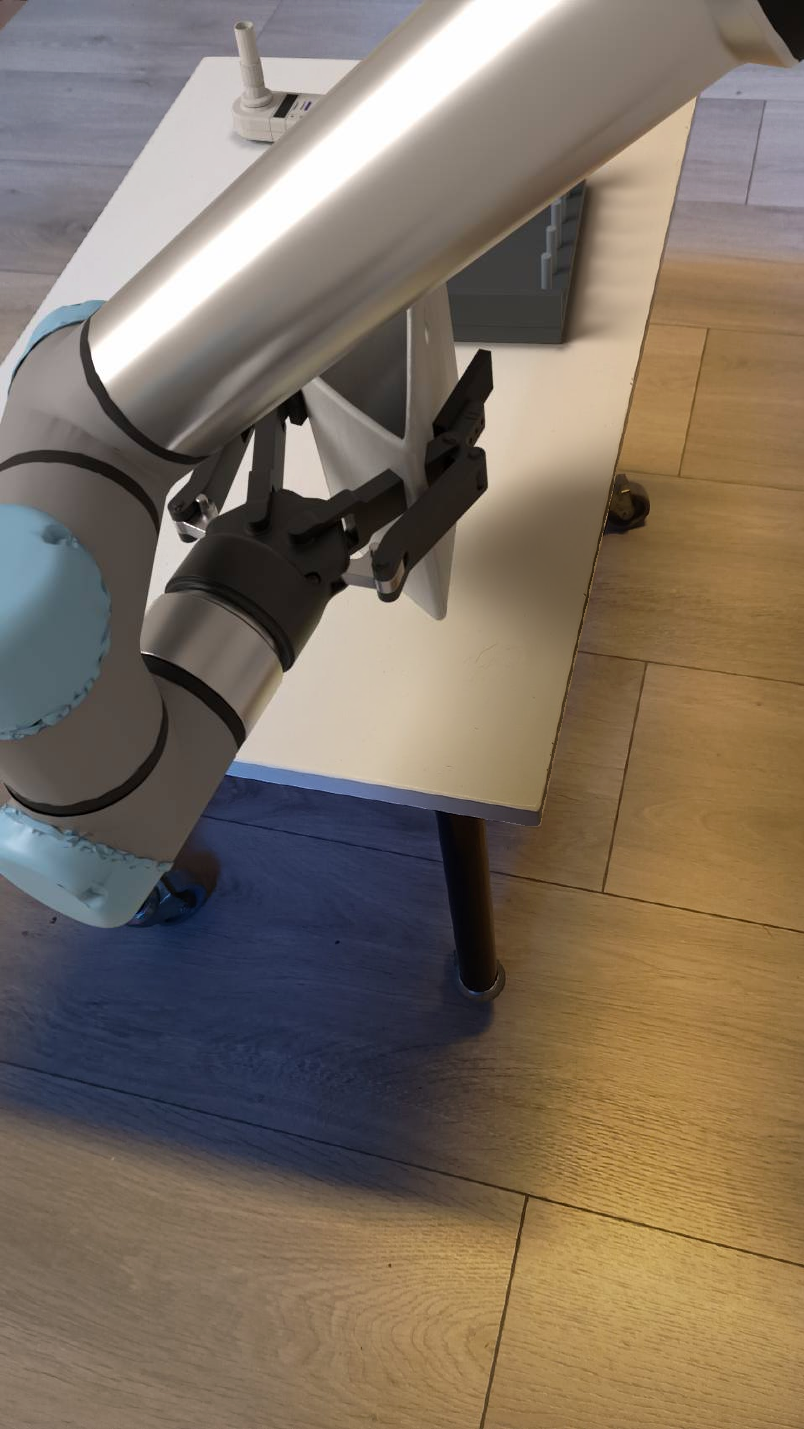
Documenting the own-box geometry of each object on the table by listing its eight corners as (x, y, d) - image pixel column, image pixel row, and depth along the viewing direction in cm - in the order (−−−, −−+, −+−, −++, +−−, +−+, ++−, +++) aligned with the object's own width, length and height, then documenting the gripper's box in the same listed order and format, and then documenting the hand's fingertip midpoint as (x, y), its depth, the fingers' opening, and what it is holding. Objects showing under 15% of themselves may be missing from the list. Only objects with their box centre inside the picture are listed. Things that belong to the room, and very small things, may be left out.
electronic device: (361, 48, 99) (206, 38, 102) (372, 155, 107) (228, 142, 110) (378, 18, 101) (226, 9, 104) (388, 124, 109) (247, 113, 113)
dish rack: (585, 189, 99) (587, 128, 95) (560, 344, 88) (561, 283, 84) (368, 189, 103) (359, 131, 98) (318, 337, 92) (306, 280, 87)
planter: (355, 443, 78) (293, 179, 63) (467, 439, 77) (432, 168, 61) (319, 622, 69) (237, 366, 53) (446, 621, 68) (399, 358, 52)
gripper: (78, 622, 63) (270, 367, 73) (424, 740, 56) (583, 439, 66) (25, 532, 56) (243, 266, 67) (407, 652, 49) (585, 334, 60)
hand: (412, 352), depth 66 cm, fingers closed on planter, 9 cm apart
